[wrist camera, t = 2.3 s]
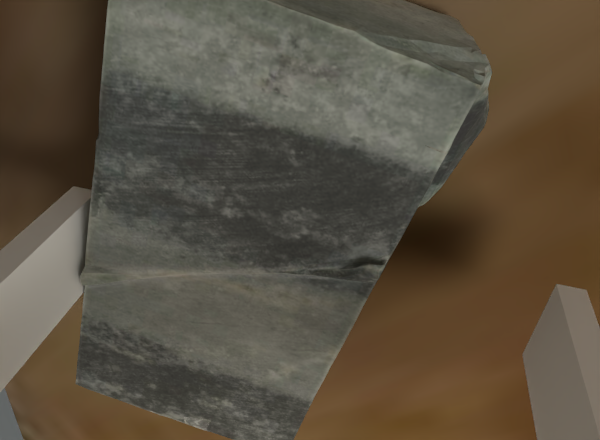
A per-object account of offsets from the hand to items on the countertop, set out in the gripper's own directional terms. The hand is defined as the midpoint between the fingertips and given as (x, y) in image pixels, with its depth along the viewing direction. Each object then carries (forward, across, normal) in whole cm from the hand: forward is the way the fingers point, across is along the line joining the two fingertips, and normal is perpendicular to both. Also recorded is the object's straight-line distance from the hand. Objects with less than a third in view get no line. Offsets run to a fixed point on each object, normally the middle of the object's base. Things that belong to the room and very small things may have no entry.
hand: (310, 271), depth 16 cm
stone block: (+4, -2, 0) cm, 4 cm away
